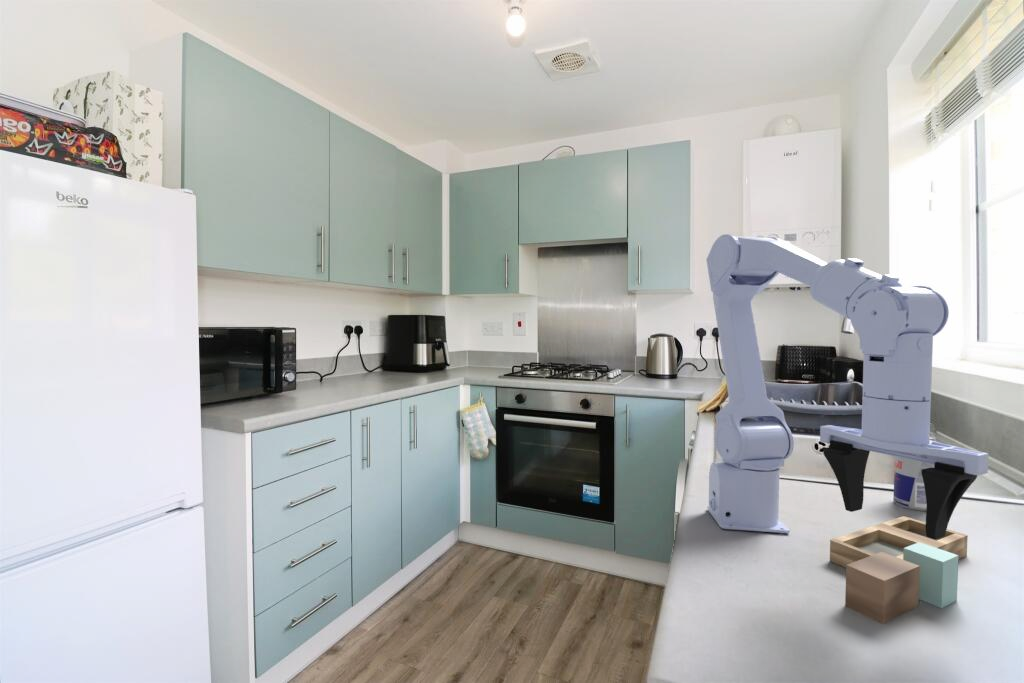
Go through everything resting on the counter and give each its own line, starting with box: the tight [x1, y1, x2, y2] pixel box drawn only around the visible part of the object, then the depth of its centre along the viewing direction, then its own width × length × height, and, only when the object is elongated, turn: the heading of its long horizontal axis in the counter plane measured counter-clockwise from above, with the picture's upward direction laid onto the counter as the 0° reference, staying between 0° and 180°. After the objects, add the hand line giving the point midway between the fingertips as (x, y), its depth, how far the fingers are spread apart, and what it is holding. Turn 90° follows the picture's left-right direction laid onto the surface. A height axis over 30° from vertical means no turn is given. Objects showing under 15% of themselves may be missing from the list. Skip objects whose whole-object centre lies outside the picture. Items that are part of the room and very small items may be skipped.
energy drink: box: [893, 435, 938, 512], centre depth 79 cm, size 5×5×12 cm
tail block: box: [903, 542, 959, 609], centre depth 52 cm, size 4×4×5 cm
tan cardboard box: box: [844, 552, 920, 625], centre depth 50 cm, size 7×4×4 cm, turn 116°
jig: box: [829, 515, 969, 569], centre depth 60 cm, size 18×7×3 cm, turn 117°
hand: (891, 522), depth 51 cm, fingers open, 7 cm apart
